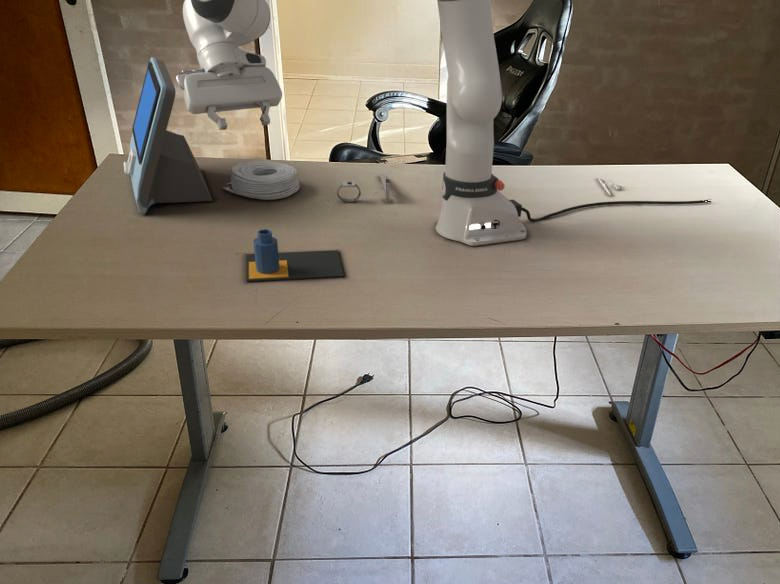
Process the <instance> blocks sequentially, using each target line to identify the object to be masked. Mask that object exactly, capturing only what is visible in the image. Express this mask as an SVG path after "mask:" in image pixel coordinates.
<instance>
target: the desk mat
mask: <svg viewBox="0 0 780 584" xmlns="http://www.w3.org/2000/svg"><path fill="white" fill-rule="evenodd" d="M278 256H279V268H280V269H279V271H277V272H275V273H272V274H262V273H259V272H257V270H256V262H255V253H247V254H246V283H259V282H277V281H278V282H279V281H297V280H298V281H299V280H315V279H318V280H319V279H334V278H335V279H336V278H345V274H344V270H343V266H342V261H341V257H340V253H339V250H338V249H334V250H333V249H332V250H312V251H311V250H309V251H290V252H289V251H288V252H287V251H285V252H278Z"/></svg>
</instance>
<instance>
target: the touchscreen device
mask: <svg viewBox="0 0 780 584" xmlns="http://www.w3.org/2000/svg"><path fill="white" fill-rule="evenodd" d="M145 71H146V72H145V75H144V80H143V84H142V88H141V92H140V96H139V100H138V102H137V103H138V104H137V108H136V112H135V116H134V119H133V124H132V128H131V130H132V131H131V136H130V142H129V152H128V158H127V161H124V162H123V163H122V165H123V171H124V174H126V175H130V179H131V185H132V191H133V195H134V200H135V203H136V207H137V210H138V212H139V213H140V214H144V215H146V213H147V212H148V210H149V208H150V207H151V206H152V205H155V204H173V203H175V204H176V203H177V204H178V203H199V202H200V203H201V202H213V198H212V196H211V193H210V190H209V188H208V185H207V183H206V179H205V178H204V175H203V172H202V171H201V169H200V166H199V164H198V161H197V160H196V157H195V155H194V154H193V152H192V149H191V147H190V145H189V143H188V141H187V139H186V137H185V135H182V134H179V133H176V132H173V131H170V130H167V129H168V125H169V122H170V119H171V115H172V111H173V106H174V103H175V99H176V93H177V91H176V87H175V85H174V82H173V80H172V78H171V75H170V73H169V71H168V68H167V66H166V64H165V61H164V60H161V59H159V58H156V57H153V56H151V57H150V59H149V61H148V64H147V68H146V70H145Z"/></svg>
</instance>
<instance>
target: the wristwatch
mask: <svg viewBox="0 0 780 584" xmlns="http://www.w3.org/2000/svg"><path fill="white" fill-rule="evenodd" d="M341 188H357V190H358V195H357V196H356V197H354V198H352V199H347V198H344V197H342V196H340V194H339V193H340V189H341ZM361 195H362V192H361V188H360V187H359V185H358V184H357V183H356V182H355V181H342V182H341V183H340V184H339V186H338V187H337V189H336V196H337V198H338V199H339V200H341V201H343V202H344V203H354V202H356V201H357V200H359V199H360V197H361Z"/></svg>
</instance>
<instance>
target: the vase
mask: <svg viewBox="0 0 780 584" xmlns="http://www.w3.org/2000/svg"><path fill="white" fill-rule="evenodd" d="M252 242H253V251H254V254H255V262H256V270H257V272H259V273H262V274H272V273H275V272H277V271H279V269H280V268H279V256H278V253H279V246H278V239H277V238H276V237H274V236H273V231H272V229H266V228H264V229H263V228H262V229H259V230H258V231H257V237H256V238H254V239H253V241H252Z"/></svg>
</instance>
